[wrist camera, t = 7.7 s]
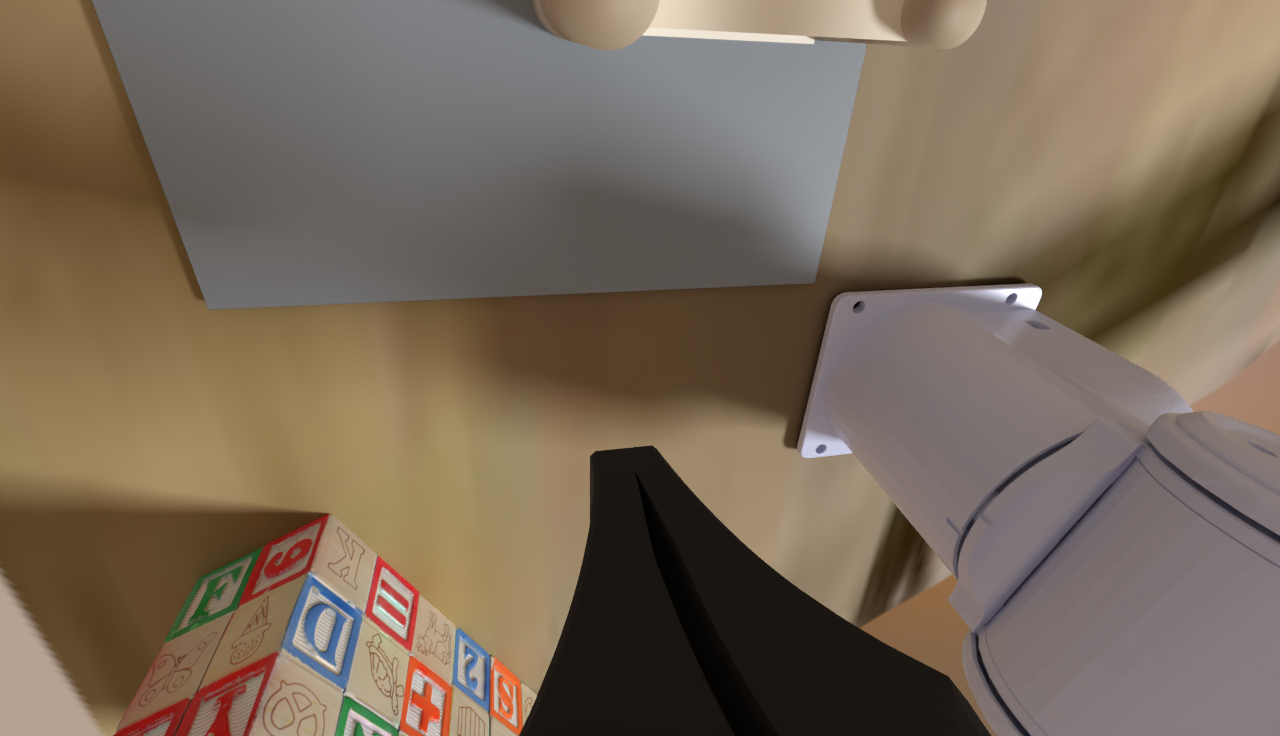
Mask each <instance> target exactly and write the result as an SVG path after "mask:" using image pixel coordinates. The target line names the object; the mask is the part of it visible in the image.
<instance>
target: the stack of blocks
mask: <svg viewBox="0 0 1280 736" xmlns="http://www.w3.org/2000/svg"><path fill="white" fill-rule="evenodd" d="M536 697H537V695H536V694H535V693H534V692H533V691H532V690H531V689H530V688H528V687H527V686H526V685H525V684H523V683H522V682H520V681H519V679H518V678H517V677H516V676H515V675H514V674H512V673H511V672H510V671H509V670H508V669H507V668H506V667H505V666H504V665H503V664H501V663H500V662H499V661H498V660H497V659H496V658H495V657H493V656H489V654H488V653H487V652H486V651H485V650H484V649H483V648H481V647H480V646H479V645H478V644H477V643H476V642H474V641H473V640H472V639H471V638H470V637H469V636H468V635H466V634H465V633H464V632H463V631H462V630H461V629H460V628H458V627H455V625H454V624H453V623H452V622H451V621H450V620H449V619H447V618H446V617H445V616H444V615H443V614H442V613H440V612H439V611H438V610H437V609H436V608H435V607H434V606H432V605H431V604H430V603H429V602H428V601H427V600H426V599H424V598H423V597H422V596H421V595H420V594H419V592H418V591H417V590H416V589H415V588H414V587H413V586H412V585H411V584H410V583H409V582H407V581H406V580H405V579H404V578H403V577H402V576H400V575H399V574H398V573H397V572H396V571H395V570H394V569H393V568H391V567H390V566H389V565H388V564H387V563H386V562H385V561H383V560H382V559H381V558H380V557H379V556H377V555H376V553H375V552H374V551H373V550H372V549H371V548H369V547H368V546H367V545H366V544H365V543H364V542H363V541H362V540H361V539H359V538H358V537H357V536H356V535H355V534H354V533H353V532H351V531H350V530H349V529H348V528H347V527H346V526H345V525H343V524H342V523H341V522H340V521H339V520H338V519H337V518H336V517H334V516H333V515H331V514H327V515H324V516H323V517H321V518H319V519H316V520H314V521H312V522H310V523H308V524H306V525H304V526H302V527H300V528H298V529H296V530H294V531H292V532H290V533H288V534H286V535H284V536H282V537H280V538H278V539H276V540H274V541H272V542H270V543H268V544H266V545H265V546H264V547H262V548H260V549H258V550H256V551H254V552H252V553H250V554H248V555H246V556H244V557H242V558H240V559H237V560H235V561H233V562H231V563H229V564H227V565H225V566H223V567H221V568H219V569H217V570H215V571H213V572H211V573H209V574H206V575H204V576H202V577H200V578H199V579H198V580H197V582H196V584H195V586H194V587H193V589H192V591H191V593H190V594H189V596H188V598H187V600H186V601H185V603H184V605H183V607H182V609H181V611H180V612H179V614H178V616H177V618H176V620H175V622H174V624H173V626H172V627H171V629H170V631H169V633H168V635H167V637H166V639H165V641H164V646H163V648H162V649H161V651H160V652H159V654H158V655H157V657H156V659H155V660H154V662H153V664H152V666H151V667H150V669H149V671H148V673H147V675H146V676H145V678H144V680H143V682H142V683H141V685H140V687H139V689H138V691H137V692H136V694H135V696H134V698H133V700H132V701H131V703H130V705H129V707H128V709H127V711H126V712H125V714H124V716H123V718H122V720H121V722H120V723H119V725H118V727H117V730H116V733H115V734H114V735H113V736H519V734H520V732H521V730H522V728H523V726H524V724H525V722H526V719H527V717H528V715H529V713H530V711H531V709H532V706H533V704H534V702H535V700H536Z"/></svg>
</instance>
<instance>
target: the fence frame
mask: <svg viewBox="0 0 1280 736" xmlns="http://www.w3.org/2000/svg"><path fill="white" fill-rule="evenodd" d="M986 2H987V0H532V5H533V8H534V11H535V14H536V16H537V18H538V20H539V21H540V23H541V24H542V25H543V27H544V28H545V29H546V30H547V31H549V32H550V33H551V34H553V35H554V36H556V37H559V38H561V39H564V40H568V41H571V42H574V43H578V44H581V45H585V46H588V47H591V48H595V49H598V50H616V49H620V48H623V47H626V46H628V45H630V44H632V43H633V42H635V41H636V40H637V39H639V38H640V37H641V36H642V35H643V34H644V33H645V31H646V30H647V29H648V28H668V29H686V30H705V31H723V32H742V33H761V34H779V35H798V36H808V37H809V38H811V39H813V40H819V41H834V42H849V43H864V44H878V45H893V46H908V47H923V48H938V49H950V48H954V47H957V46H958V45H960V44H962V43H963V42H965V41H966V40H967V39H968V38H969V37H970V36H971V35H972V34H973V33H974V32H975V30H976V29H977V27H978V25H979V24H980V22H981V20H982V17H983V15H984V12H985V8H986Z"/></svg>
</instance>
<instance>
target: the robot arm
mask: <svg viewBox="0 0 1280 736" xmlns="http://www.w3.org/2000/svg"><path fill="white" fill-rule="evenodd" d="M1041 295H1042V290H1041V288H1040V287H1038V286H1036V285H1034V284H1030V283H1029V284H1008V285H987V286H966V287H945V288H924V289H903V290H883V291H862V292H845V293H841V294H839V295H838V296H836V297H835V299H834V300H833V302H832V304H831V308H830V312H829V316H828V320H827V324H826V328H825V333H824V337H823V341H822V345H821V349H820V353H819V358H818V362H817V366H816V370H815V374H814V379H813V383H812V387H811V391H810V395H809V399H808V404H807V408H806V412H805V416H804V420H803V424H802V429H801V433H800V437H799V441H798V445H797V450H798V452H799V453H800V455H801V456H802V457H804V458H814V457H823V456H832V455H841V454H850V453H853V454H854V455H855V456H856V457H857V459H858V460H859V461H860V462H861V463H862V465H863V466H864V467H865V468H866V470H867V471H868V472H869V473H870V474H871V476H872V477H873V478H874V479H875V480H876V482H877V483H878V484H879V485H880V486H881V488H882V489H883V490H884V491H885V493H886V494H887V495H888V496H889V497H890V499H891V500H892V501H893V502H894V503H895V505H896V506H897V507H898V508H899V510H900V511H901V512H902V513H903V514H904V516H905V517H906V518H907V519H908V520H909V522H910V523H911V524H912V525H913V527H914V528H915V529H916V530H917V531H918V533H919V534H920V535H921V536H922V537H923V539H924V540H925V541H926V542H927V544H928V545H929V546H930V547H931V548H932V550H933V551H934V552H935V553H936V554H937V556H938V557H939V558H940V559H941V560H942V562H943V563H944V564H945V565H946V567H947V568H948V569H949V570H950V571H951V573H952V574H953V575H954V576H955V577H956V579H957V580H958V582H957V585H956V587H955V589H954V591H953V592H952V594H951V595H950V597H949V599H948V601H949V602H950V604H951V605H952V606H953V607H954V609H955V610H956V611H957V613H958V614H959V615H960V616H961V617H962V619H963V620H964V621H965V623H966V624H967V625H968V627H969V628H970V631H969V632H968V633H967V634H966V636H965V639H964V641H963V644H962V654H961V656H962V663H963V669H964V672H965V675H966V678H967V681H968V684H969V687H970V689H971V691H972V693H973V695H974V697H975V699H976V701H977V703H978V705H979V707H980V708H981V710H982V712H983V714H984V716H985V718H986V720H987V721H988V723H989V724H990V726H991V728H992V729H993V731H994V732H995V734H996V735H997V736H1280V435H1278V434H1276V433H1274V432H1271V431H1269V430H1266V429H1264V428H1261V427H1259V426H1256V425H1254V424H1251V423H1248V422H1245V421H1243V420H1240V419H1237V418H1234V417H1231V416H1228V415H1225V414H1221V413H1217V412H1212V411H1199V412H1193V410H1192V409H1191V407H1190V406H1189V404H1188V403H1187V402H1186V401H1185V399H1184V398H1183V397H1182V396H1181V395H1180V394H1179V393H1178V392H1177V391H1176V390H1175V389H1174V388H1173V387H1172V386H1171V385H1169V384H1168V383H1167V382H1166V381H1164V380H1163V379H1161V378H1160V377H1158V376H1156V375H1154V374H1153V373H1151V372H1149V371H1147V370H1145V369H1143V368H1142V367H1140V366H1138V365H1136V364H1134V363H1132V362H1130V361H1129V360H1127V359H1125V358H1123V357H1121V356H1119V355H1117V354H1116V353H1114V352H1112V351H1110V350H1108V349H1106V348H1104V347H1103V346H1101V345H1099V344H1097V343H1095V342H1093V341H1091V340H1090V339H1088V338H1086V337H1084V336H1082V335H1080V334H1078V333H1077V332H1075V331H1073V330H1071V329H1069V328H1067V327H1065V326H1064V325H1062V324H1060V323H1058V322H1056V321H1054V320H1053V319H1051V318H1049V317H1047V316H1045V315H1043V314H1041V313H1040V312H1038V311H1036V310H1035V309H1036V307H1037V305H1038V303H1039V300H1040V298H1041ZM1008 296H1009V297H1008ZM1007 297H1008V298H1007ZM859 301H860V303H859V305H858V306H857V307H856V308H854V309H853V306H854V304H856V303H857V302H859ZM819 445H821V446H820V447H818V446H819ZM817 447H818V448H817ZM519 736H991V735H990V733H989V732H988V730H987V729H986V727H985V726H984V725H983V723H982V722H981V720H980V719H979V717H978V715H977V714H976V713H975V711H974V710H973V708H972V707H971V705H970V704H969V702H968V701H967V700H966V698H965V697H964V696H963V695H962V693H961V692H960V691H959V689H958V688H957V687H956V686H955V684H954V683H953V682H952V681H951V679H950V678H949V677H948V676H946V675H944V674H942V673H941V672H939V671H937V670H935V669H932V668H931V667H929V666H927V665H925V664H923V663H921V662H919V661H917V660H915V659H913V658H912V657H910V656H907V655H906V654H904V653H902V652H900V651H897V650H896V649H894V648H892V647H890V646H888V645H887V644H885V643H883V642H881V641H880V640H878V639H876V638H875V637H873V636H871V635H870V634H868V633H866V632H864V631H863V630H861V629H859V628H858V627H856V626H854V625H853V624H851V623H849V622H848V621H846V620H845V619H843V618H841V617H840V616H838V615H837V614H835V613H834V612H832V611H831V610H829V609H828V608H826V607H825V606H824V605H822V604H821V603H819V602H818V601H816V600H815V599H813V598H812V597H810V596H809V595H807V594H806V593H804V592H803V591H801V590H800V589H799V588H797V587H796V586H795V585H793V584H792V583H791V582H789V581H788V580H787V579H785V578H784V577H783V576H781V575H780V574H779V573H778V572H776V571H775V570H774V569H773V568H772V567H770V566H769V565H768V564H767V563H765V562H764V561H763V560H762V559H761V558H759V557H758V556H757V555H756V554H755V553H754V552H752V551H751V550H750V549H749V548H748V547H747V546H746V545H745V544H744V543H742V542H741V541H740V540H739V539H738V538H737V537H736V536H735V535H734V534H733V533H732V532H731V531H730V530H729V529H728V528H727V527H726V526H725V525H724V524H723V523H722V522H721V521H720V520H719V519H718V518H717V517H716V516H715V515H714V514H713V513H712V512H711V511H710V510H709V509H708V508H707V507H706V506H705V505H704V504H703V503H702V502H701V501H700V500H699V499H698V497H697V496H696V495H695V494H694V493H693V492H692V491H691V490H690V489H689V487H688V486H687V485H686V484H685V483H684V482H683V481H682V479H681V478H680V477H679V476H678V475H677V474H676V472H675V471H674V470H673V469H672V468H671V466H670V465H669V464H668V463H667V461H666V460H665V459H664V458H663V456H662V455H661V454H660V453H659V451H658V450H657V449H656V448H655V447H654V446H643V447H633V448H623V449H614V450H604V451H595V452H594V453H593V454H592V455H591V456H590V528H589V533H588V538H587V543H586V548H585V553H584V558H583V563H582V567H581V571H580V575H579V579H578V582H577V586H576V590H575V593H574V596H573V600H572V603H571V607H570V610H569V613H568V616H567V619H566V622H565V625H564V628H563V631H562V634H561V637H560V639H559V642H558V645H557V648H556V650H555V653H554V656H553V658H552V661H551V663H550V666H549V668H548V670H547V673H546V675H545V678H544V680H543V683H542V685H541V687H540V690H539V692H538V695H537V697H536V700H535V702H534V704H533V706H532V709H531V711H530V713H529V715H528V717H527V719H526V722H525V724H524V726H523V728H522V730H521V732H520V734H519Z"/></svg>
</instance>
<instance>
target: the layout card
mask: <svg viewBox="0 0 1280 736" xmlns="http://www.w3.org/2000/svg"><path fill="white" fill-rule="evenodd" d="M92 3H93V5H94V8H95V10H96V13H97V16H98V18H99V21H100V24H101V26H102V29H103V32H104V34H105V37H106V40H107V42H108V45H109V48H110V50H111V53H112V56H113V58H114V61H115V63H116V66H117V69H118V71H119V74H120V77H121V79H122V82H123V85H124V87H125V90H126V93H127V95H128V98H129V101H130V103H131V106H132V109H133V111H134V114H135V116H136V119H137V122H138V124H139V127H140V130H141V132H142V135H143V138H144V140H145V143H146V146H147V148H148V151H149V154H150V156H151V159H152V162H153V164H154V167H155V169H156V172H157V175H158V177H159V180H160V183H161V185H162V188H163V191H164V193H165V196H166V199H167V201H168V204H169V207H170V209H171V212H172V215H173V217H174V220H175V222H176V225H177V228H178V230H179V233H180V236H181V238H182V241H183V244H184V246H185V249H186V252H187V254H188V257H189V260H190V262H191V265H192V268H193V270H194V273H195V275H196V278H197V281H198V283H199V286H200V289H201V291H202V294H203V297H204V299H205V302H206V305H207V307H208V310H213V309H236V308H259V307H282V306H305V305H328V304H351V303H373V302H396V301H419V300H442V299H465V298H488V297H511V296H534V295H557V294H579V293H602V292H625V291H648V290H671V289H694V288H717V287H740V286H762V285H785V284H808V283H815V280H816V275H817V270H818V266H819V261H820V257H821V252H822V248H823V243H824V238H825V234H826V229H827V225H828V220H829V216H830V211H831V206H832V202H833V197H834V193H835V188H836V184H837V179H838V174H839V170H840V165H841V161H842V156H843V152H844V147H845V142H846V138H847V133H848V129H849V124H850V119H851V115H852V110H853V106H854V101H855V97H856V92H857V87H858V83H859V78H860V74H861V69H862V65H863V60H864V55H865V51H866V46H867V44H864V43H849V42H834V41H819V40H813V39H811V38H809V37H808V36H798V35H779V34H761V33H742V32H723V31H705V30H686V29H668V28H648V29H647V30H646V31H645V33H644V34H643V35H642V36H641V37H640V38H639V39H637V40H636V41H635V42H633V43H632V44H630V45H628V46H626V47H623V48H620V49H616V50H598V49H595V48H591V47H588V46H585V45H581V44H578V43H574V42H571V41H568V40H564V39H561V38H559V37H556V36H554V35H553V34H551V33H550V32H549V31H547V30H546V29H545V28H544V27H543V25H542V24H541V23H540V21H539V20H538V18H537V16H536V14H535V11H534V8H533V5H532V0H92Z"/></svg>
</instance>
